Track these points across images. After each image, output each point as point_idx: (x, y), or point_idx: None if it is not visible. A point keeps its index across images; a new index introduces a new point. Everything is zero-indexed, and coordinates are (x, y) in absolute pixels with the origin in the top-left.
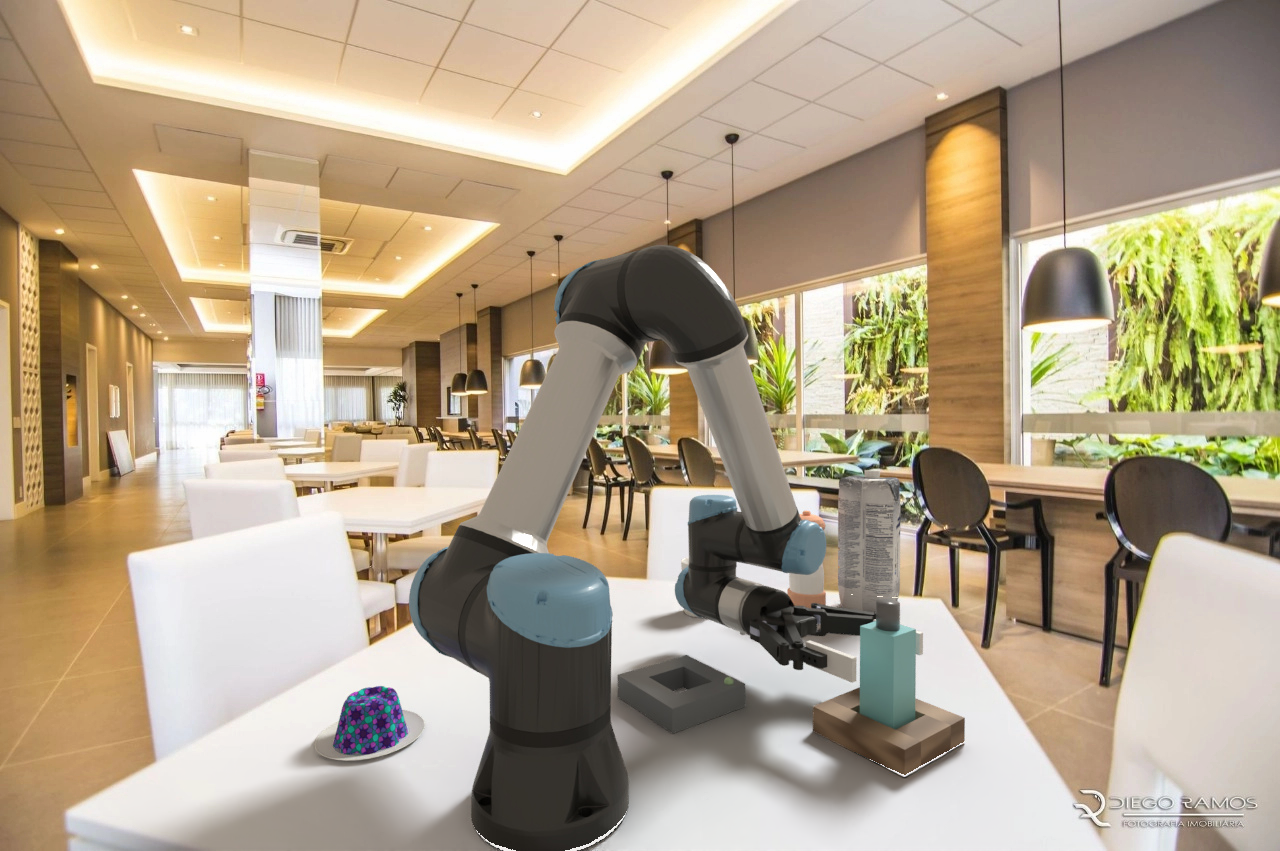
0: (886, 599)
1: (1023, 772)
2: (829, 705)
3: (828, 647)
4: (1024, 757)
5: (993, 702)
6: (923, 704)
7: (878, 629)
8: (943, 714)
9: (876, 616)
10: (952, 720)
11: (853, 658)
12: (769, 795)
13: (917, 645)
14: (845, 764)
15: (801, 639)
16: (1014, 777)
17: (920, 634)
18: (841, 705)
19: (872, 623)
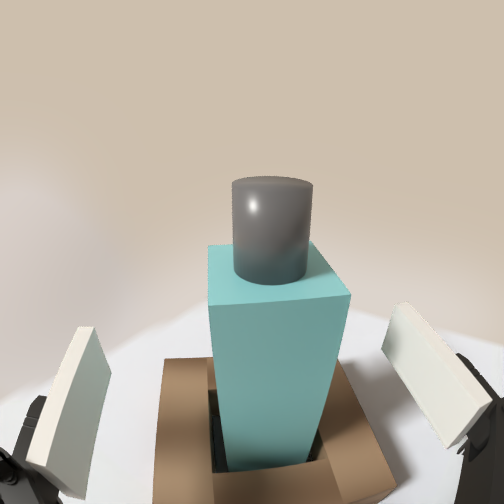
0: (250, 188)
1: (183, 332)
2: (361, 481)
3: (442, 354)
4: (148, 342)
5: (18, 401)
6: (171, 409)
7: (310, 268)
8: (180, 377)
9: (306, 241)
10: (189, 362)
11: (403, 302)
12: None
13: (101, 359)
14: (380, 414)
15: (498, 426)
16: (202, 332)
17: (91, 328)
18: (335, 474)
19: (286, 296)
